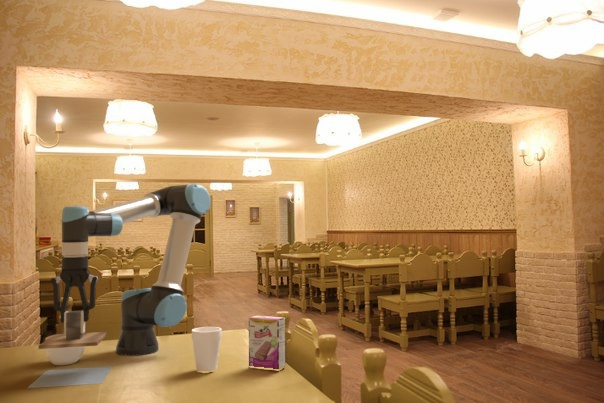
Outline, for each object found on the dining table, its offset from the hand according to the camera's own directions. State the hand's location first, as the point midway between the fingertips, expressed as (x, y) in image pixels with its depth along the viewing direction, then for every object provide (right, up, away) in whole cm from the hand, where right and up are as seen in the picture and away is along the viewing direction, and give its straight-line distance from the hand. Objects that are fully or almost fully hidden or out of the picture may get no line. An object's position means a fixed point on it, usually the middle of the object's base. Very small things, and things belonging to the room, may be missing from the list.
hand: (74, 332), depth 160 cm
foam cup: (+39, -14, +6) cm, 42 cm away
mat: (0, -14, -1) cm, 14 cm away
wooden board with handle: (0, -3, 0) cm, 3 cm away
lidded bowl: (-11, -15, +17) cm, 25 cm away
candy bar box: (+58, -14, +7) cm, 60 cm away
